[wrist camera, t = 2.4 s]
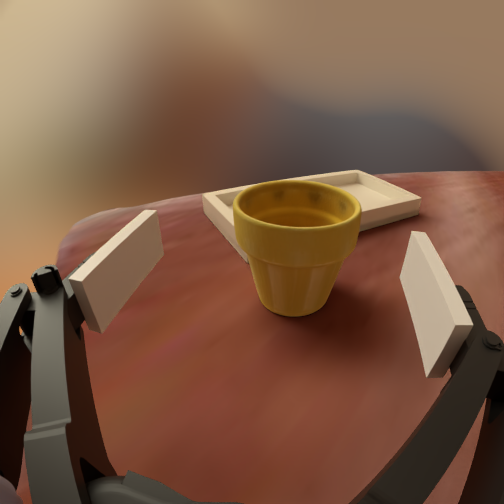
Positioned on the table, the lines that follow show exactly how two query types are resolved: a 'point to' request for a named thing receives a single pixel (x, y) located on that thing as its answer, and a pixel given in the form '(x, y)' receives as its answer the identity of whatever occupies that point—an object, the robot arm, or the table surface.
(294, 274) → the plant pot
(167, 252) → the table surface
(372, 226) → the divided tray
